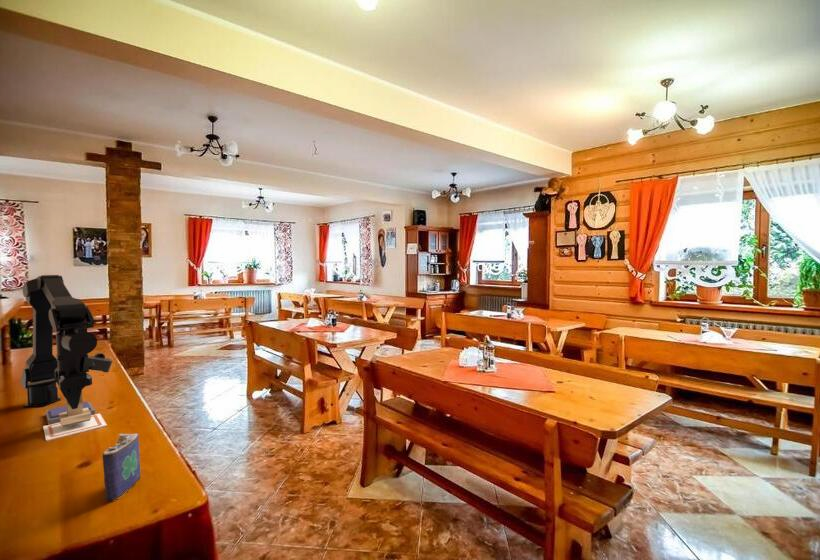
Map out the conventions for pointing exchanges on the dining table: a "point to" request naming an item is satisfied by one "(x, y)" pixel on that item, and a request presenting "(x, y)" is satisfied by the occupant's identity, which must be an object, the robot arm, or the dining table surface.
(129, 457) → the flask
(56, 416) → the ink pad
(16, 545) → the dining table surface
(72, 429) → the print card
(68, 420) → the stamp
